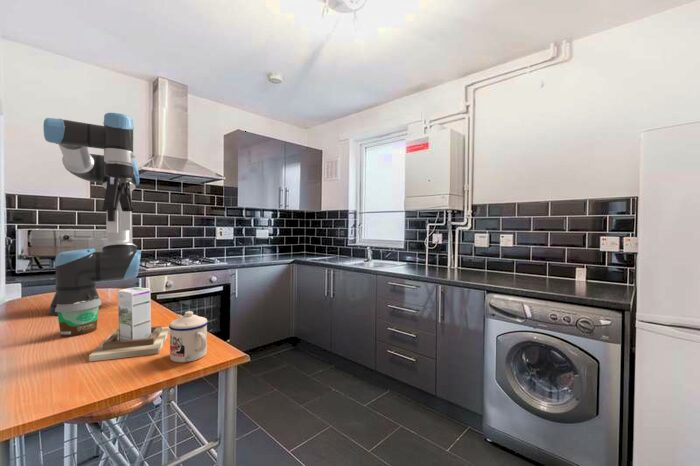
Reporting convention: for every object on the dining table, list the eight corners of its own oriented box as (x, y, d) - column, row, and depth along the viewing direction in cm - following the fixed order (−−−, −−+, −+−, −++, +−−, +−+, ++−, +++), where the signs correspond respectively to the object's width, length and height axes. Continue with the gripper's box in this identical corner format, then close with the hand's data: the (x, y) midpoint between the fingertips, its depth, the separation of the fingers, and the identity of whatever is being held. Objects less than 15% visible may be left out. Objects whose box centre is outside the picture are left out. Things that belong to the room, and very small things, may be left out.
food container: (71, 340, 92) (71, 306, 92) (55, 338, 94) (54, 304, 93) (111, 326, 104) (111, 296, 104) (96, 325, 106) (96, 295, 105)
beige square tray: (113, 336, 96) (113, 326, 96) (170, 331, 101) (170, 322, 101) (89, 361, 79) (89, 349, 79) (158, 353, 84) (158, 342, 84)
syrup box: (152, 337, 92) (152, 287, 91) (131, 345, 86) (131, 292, 86) (138, 334, 94) (137, 286, 93) (117, 341, 88) (117, 290, 87)
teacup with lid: (162, 357, 82) (162, 312, 82) (196, 346, 90) (196, 305, 89) (186, 370, 76) (186, 321, 75) (221, 357, 83) (221, 313, 83)
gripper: (121, 158, 90) (121, 233, 91) (142, 170, 113) (142, 230, 114) (88, 156, 87) (89, 233, 88) (117, 169, 111) (117, 229, 111)
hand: (119, 231), depth 101 cm, fingers open, 13 cm apart
